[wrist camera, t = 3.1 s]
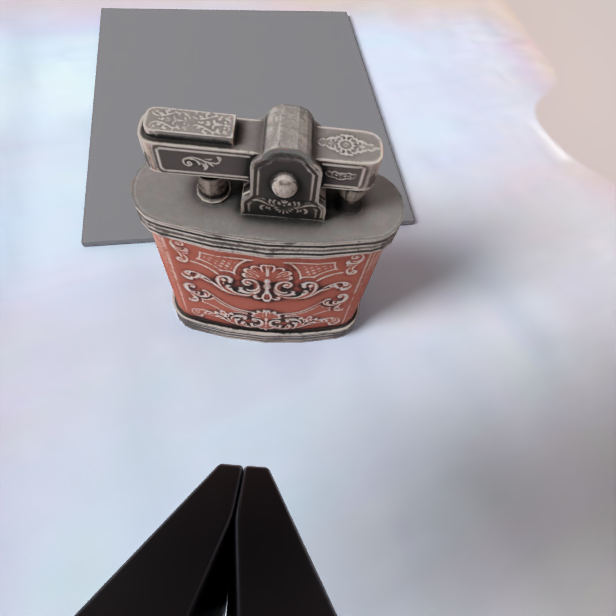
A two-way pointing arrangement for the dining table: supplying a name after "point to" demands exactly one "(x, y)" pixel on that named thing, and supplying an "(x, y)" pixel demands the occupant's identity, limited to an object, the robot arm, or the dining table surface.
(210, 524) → the robot arm
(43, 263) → the dining table surface
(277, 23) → the mat
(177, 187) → the lighter
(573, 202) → the dining table surface
